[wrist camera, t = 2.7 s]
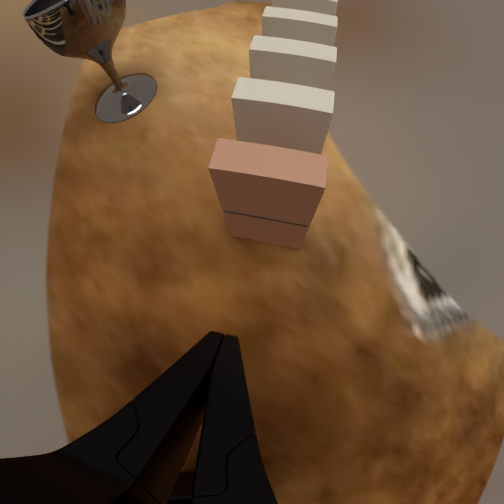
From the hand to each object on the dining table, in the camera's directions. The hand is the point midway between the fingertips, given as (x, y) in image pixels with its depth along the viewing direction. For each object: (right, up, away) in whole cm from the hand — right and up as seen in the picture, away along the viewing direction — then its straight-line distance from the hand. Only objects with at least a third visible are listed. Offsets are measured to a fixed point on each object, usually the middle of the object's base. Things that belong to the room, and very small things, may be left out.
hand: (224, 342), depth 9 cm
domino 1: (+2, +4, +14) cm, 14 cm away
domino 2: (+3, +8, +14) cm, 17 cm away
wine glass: (-12, +19, +18) cm, 29 cm away
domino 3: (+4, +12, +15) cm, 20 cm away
